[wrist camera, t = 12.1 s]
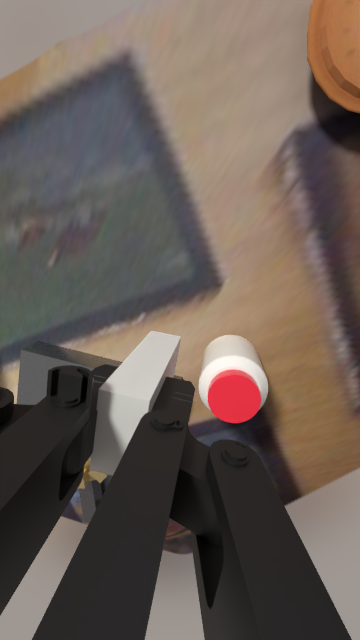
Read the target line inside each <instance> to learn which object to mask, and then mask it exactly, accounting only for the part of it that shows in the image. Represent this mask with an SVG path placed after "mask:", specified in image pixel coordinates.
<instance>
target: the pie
mask: <svg viewBox="0 0 360 640" xmlns="http://www.w3.org/2000/svg"><path fill="white" fill-rule="evenodd" d="M307 60H308V62H309V65H310V67H311V70H312V72H313V75H314V77H315V80H316V82H317V83H318V85H319V86H320V87H321V88H322V90H323V91H324V92H325V94H326V95H327V96H328V98H329V99H330V100H332V101H334V102H335V103H337V104H338V105H340V106H341V107H343V108H344V109H346V110H348V111H352V112H356V113H360V0H313V3H312V5H311V9H310V17H309V25H308V32H307Z"/></svg>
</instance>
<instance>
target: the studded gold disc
mask: <svg viewBox="0 0 360 640" xmlns="http://www.w3.org/2000/svg"><path fill="white" fill-rule="evenodd" d="M90 460H91V456H90V457H89V459H88V461H87V462H86V464H85V465H84V474H83V478H82V481H81V484H80V485H79V487H78V488H79V493H80V499H81V504H82V510H83V516H84V522H85V523H90V521H91V519H92V517H93V515H94V513H95V511H96V509H97V507H98V505H99V503H100V501H101V499H102V497H103V496H102V489H101V482H102V481H103V480H104V479H105V478H106V477H107V476H108V474H104V473H101V472H97V471H93V470H89V469H90Z"/></svg>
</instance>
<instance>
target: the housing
mask: <svg viewBox="0 0 360 640" xmlns="http://www.w3.org/2000/svg"><path fill="white" fill-rule="evenodd" d="M122 363H123V362H119V361H115V360H111V359H107V358H103V357H99V356H95V355H91V354H87V353H83V352H79V351H75V350H71V349H67V348H63V347H59V346H55V345H51V344H47V343H43V342H39V341H38V342H36V343H34V344H32V345H30V346H28V347H26V348H24V349H22V350H21V358H20V370H19V383H18V395H17V404H23V405H36V404H37V403H39V402H40V401H41V400H42V399H43V398H45V397H46V393H47V379H48V370H49V369H52V368H54V367H58V366H65V365H73V366H81V367H84V368H87V369H89V370H90V371H92V370H93V369H94V368H96V367H98V366H101V365H104V364H108V365H112V366H117V367H119V366H120V365H121V364H122ZM174 378H176V379H181V380H182V377H179V376H175V375H174ZM111 478H112V475H108V476H107V477H106V478H105V479H104V480H103V481H102V482H101V489H102V496H103V495H104V492H105V490H106V488H107V486H108V484H109V482H110V480H111ZM77 490H78V491H79V488H77Z"/></svg>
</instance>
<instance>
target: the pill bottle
mask: <svg viewBox="0 0 360 640" xmlns="http://www.w3.org/2000/svg"><path fill="white" fill-rule="evenodd" d="M199 394H200V397H201V399H202V401H203V403H204V404H205V406H206V407H207V408H208V409H209V410H210V411H211V412H212V413H213V414H214V415H215V416H216V417H218V418H219V419H221V420H223V421H225V422H229V423H242V422H245V421H247V420H249V419H251V418H252V417H253V416H254V415H255V414H256V413H257V412H258V410H259V409H260V408H261V407H262V406H263V404H264V403H265V401H266V398H267V395H268V381H267V377H266V374H265V372H264V369H263V366H262V364H261V361H260V358H259V355H258V353H257V351H256V349H255V347H254V346H253V345H252V344H251V343H250V342H249V341H248V340H246V339H245V338H243V337H240V336H236V335H225V336H221V337H218V338H216V339H215V340H213V341H212V342H211V343H210V344H209V345H208V346H207V348H206V349H205V351H204V354H203V359H202V365H201V372H200V378H199Z"/></svg>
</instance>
